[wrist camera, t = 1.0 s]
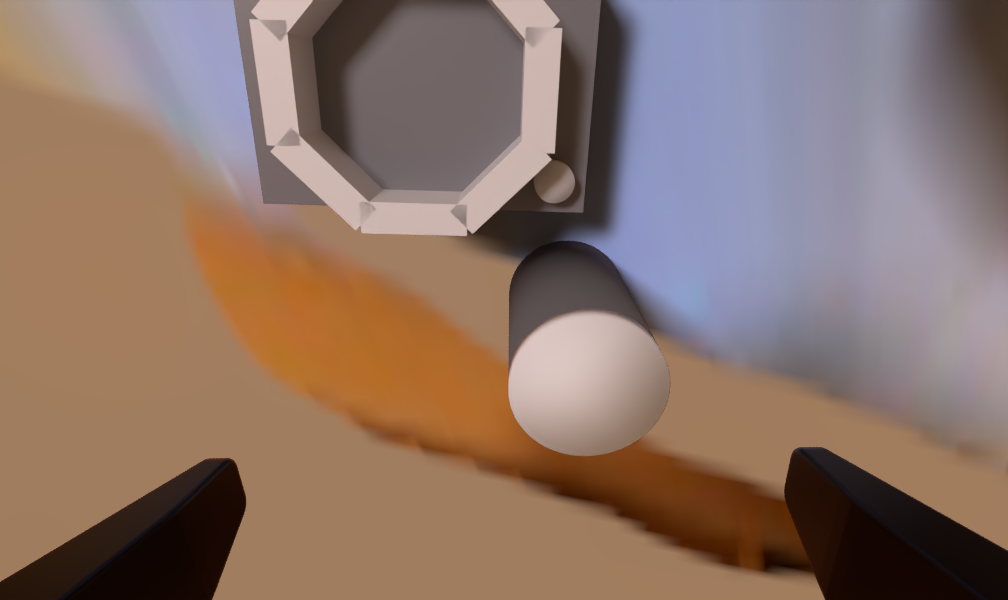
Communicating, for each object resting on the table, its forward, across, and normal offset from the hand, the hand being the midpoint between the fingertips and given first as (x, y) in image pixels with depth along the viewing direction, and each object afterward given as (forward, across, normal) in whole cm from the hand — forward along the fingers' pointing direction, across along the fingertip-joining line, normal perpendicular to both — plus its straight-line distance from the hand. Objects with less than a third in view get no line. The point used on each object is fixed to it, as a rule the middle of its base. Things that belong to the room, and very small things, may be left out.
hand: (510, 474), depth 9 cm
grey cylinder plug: (+13, -2, +2) cm, 13 cm away
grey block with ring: (+13, +2, -6) cm, 14 cm away
